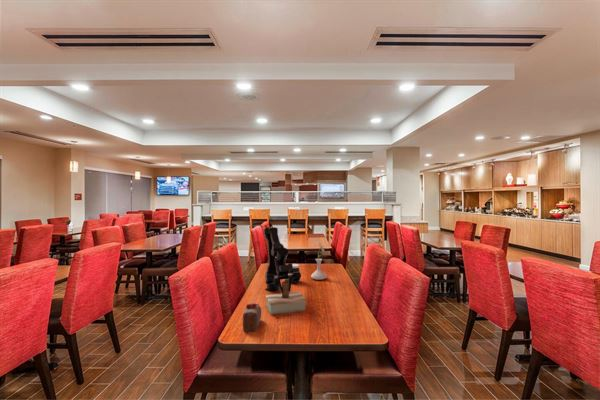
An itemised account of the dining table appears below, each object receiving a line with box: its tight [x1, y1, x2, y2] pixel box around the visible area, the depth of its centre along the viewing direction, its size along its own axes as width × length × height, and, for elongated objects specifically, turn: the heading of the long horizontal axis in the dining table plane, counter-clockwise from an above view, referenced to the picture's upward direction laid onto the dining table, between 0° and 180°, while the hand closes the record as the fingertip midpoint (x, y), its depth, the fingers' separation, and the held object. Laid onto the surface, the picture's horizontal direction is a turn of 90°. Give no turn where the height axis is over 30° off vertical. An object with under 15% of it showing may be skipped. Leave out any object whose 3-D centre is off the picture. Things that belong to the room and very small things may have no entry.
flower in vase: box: [310, 242, 328, 281], centre depth 219 cm, size 13×11×25 cm
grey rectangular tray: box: [265, 298, 306, 316], centre depth 161 cm, size 12×18×5 cm, turn 107°
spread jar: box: [283, 263, 301, 284], centre depth 211 cm, size 12×11×12 cm
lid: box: [265, 281, 307, 305], centre depth 161 cm, size 13×19×9 cm
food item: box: [242, 302, 262, 332], centre depth 141 cm, size 14×8×10 cm, turn 4°
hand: (286, 292), depth 160 cm, fingers closed on lid, 4 cm apart
